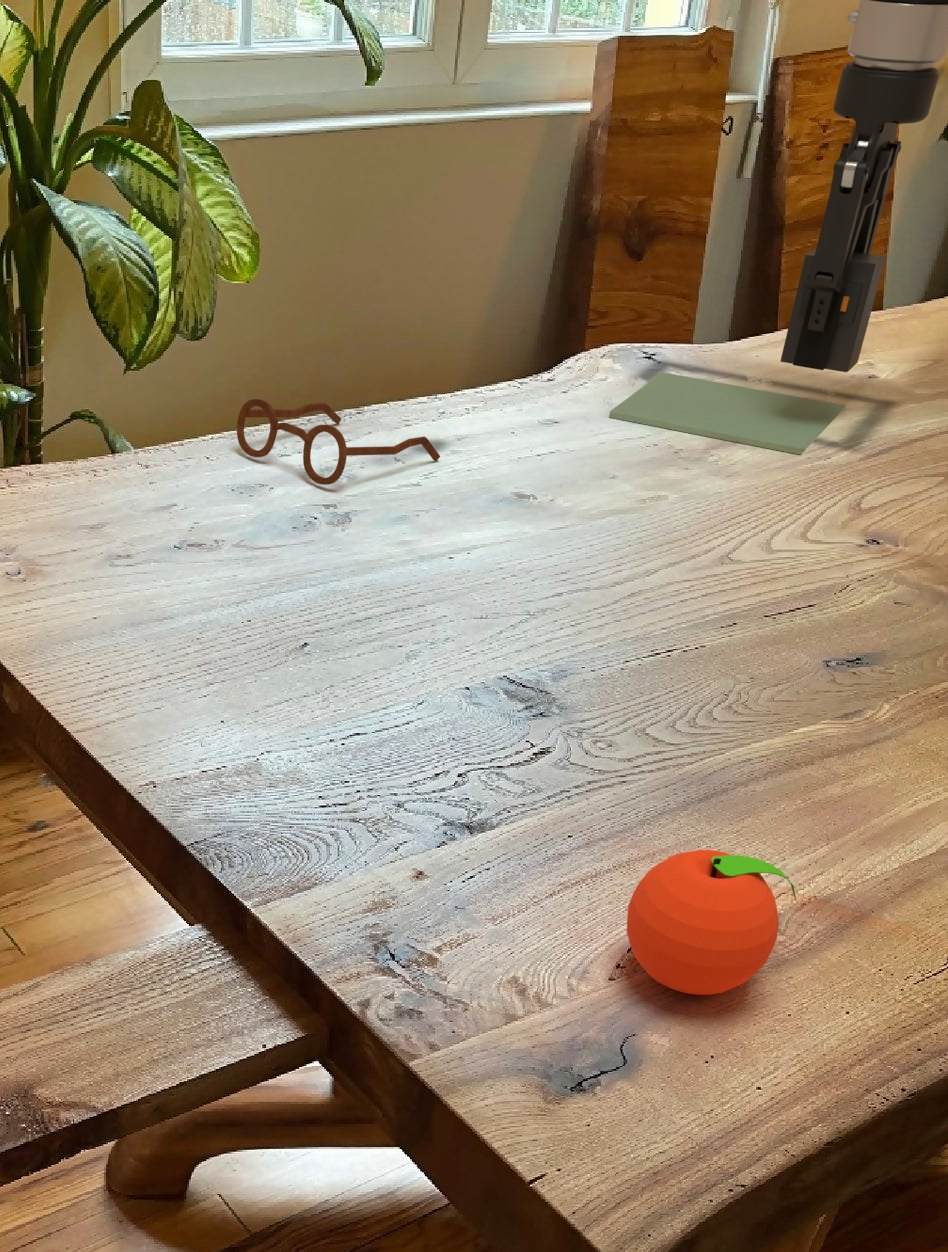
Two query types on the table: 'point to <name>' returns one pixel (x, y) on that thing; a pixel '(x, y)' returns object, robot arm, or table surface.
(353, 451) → the glasses
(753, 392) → the mat
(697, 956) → the clementine
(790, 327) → the clock
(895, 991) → the table surface
